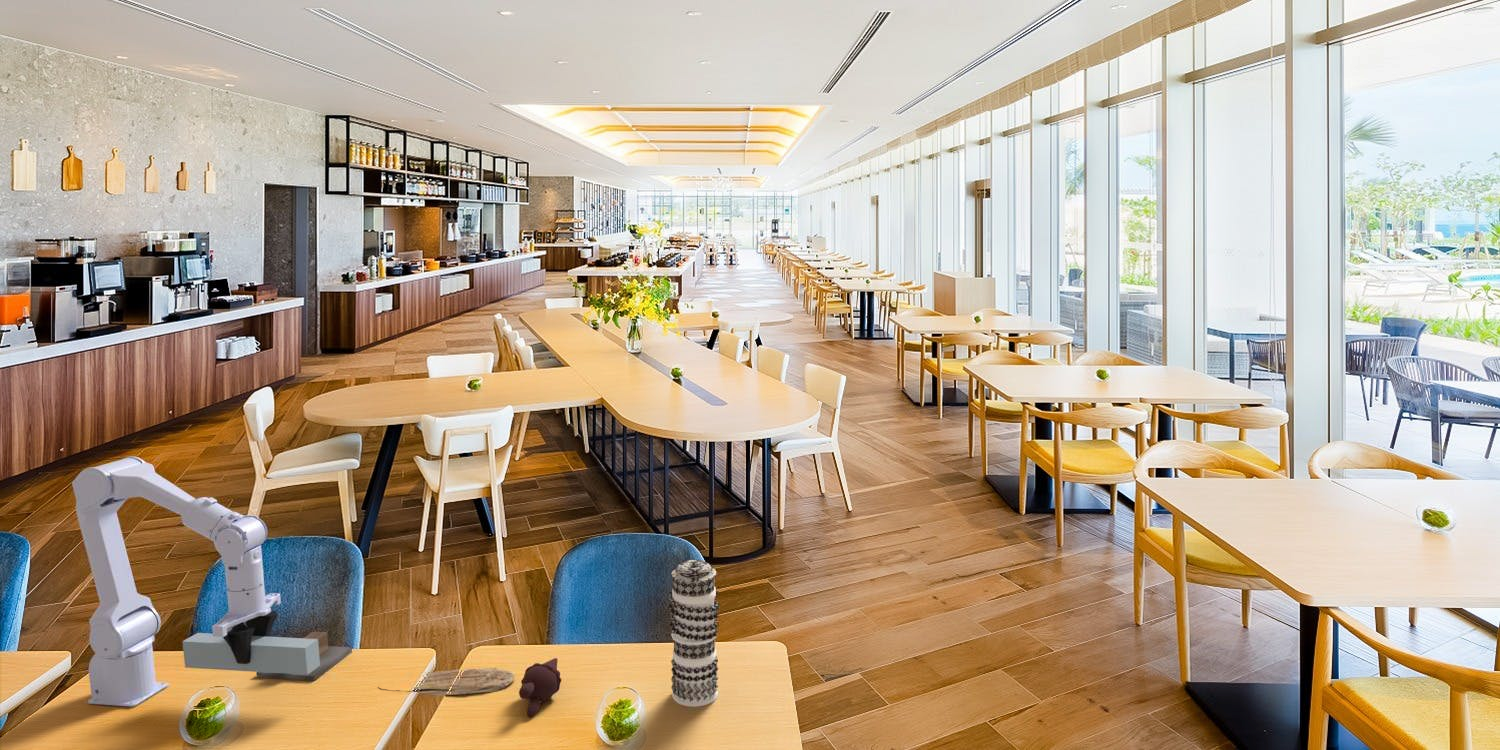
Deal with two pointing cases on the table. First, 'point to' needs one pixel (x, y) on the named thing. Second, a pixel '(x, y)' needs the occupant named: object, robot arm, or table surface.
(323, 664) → the fulcrum
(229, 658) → the batten
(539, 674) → the icecream
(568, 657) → the table surface
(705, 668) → the white patterned cylinder
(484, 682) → the fish fossil
